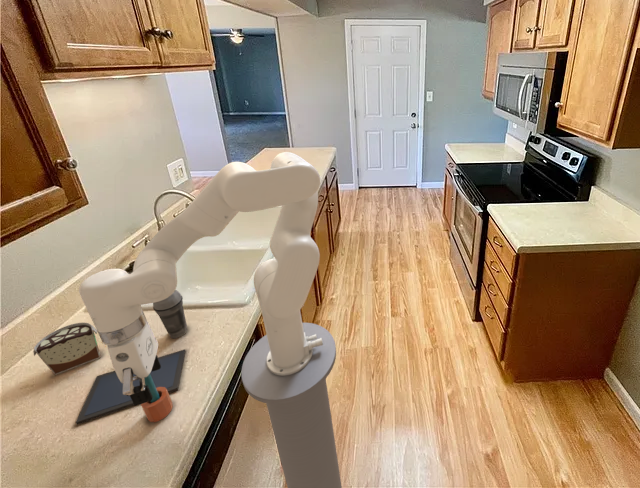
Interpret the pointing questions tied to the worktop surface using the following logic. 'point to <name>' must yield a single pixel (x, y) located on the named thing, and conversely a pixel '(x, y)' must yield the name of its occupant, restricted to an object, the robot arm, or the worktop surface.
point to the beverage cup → (172, 314)
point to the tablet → (110, 389)
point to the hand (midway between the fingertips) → (148, 385)
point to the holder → (158, 406)
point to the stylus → (152, 388)
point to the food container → (68, 347)
